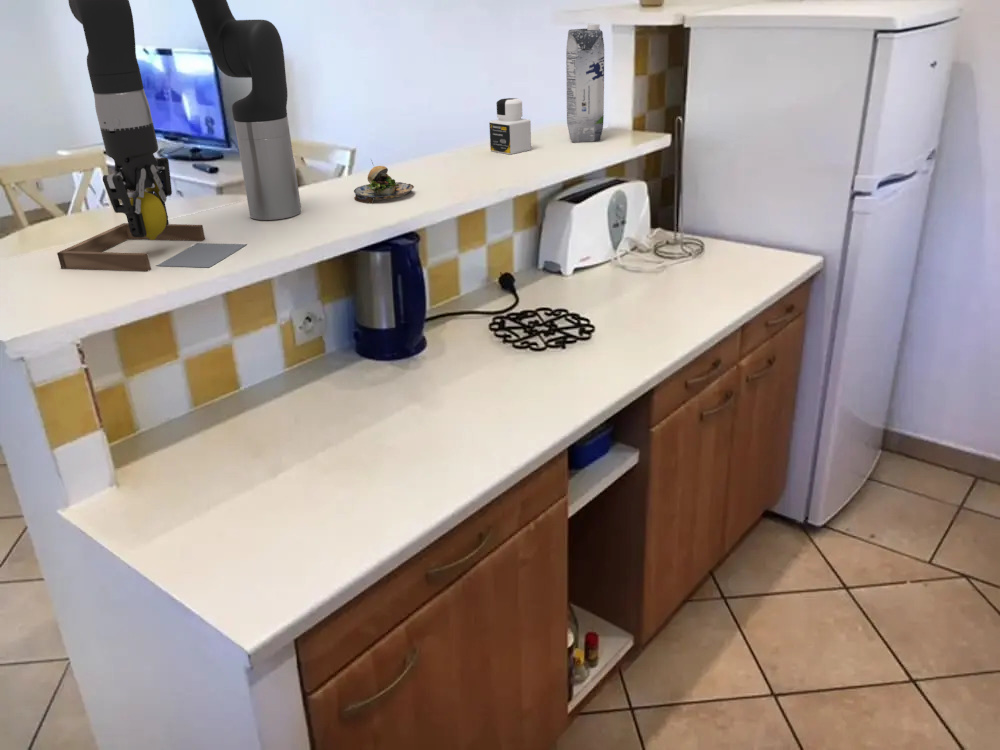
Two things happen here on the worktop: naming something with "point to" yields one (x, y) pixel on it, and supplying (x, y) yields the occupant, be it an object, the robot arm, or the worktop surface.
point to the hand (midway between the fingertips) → (150, 230)
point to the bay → (94, 257)
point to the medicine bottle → (510, 128)
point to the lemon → (152, 215)
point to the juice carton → (585, 83)
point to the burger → (380, 187)
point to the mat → (202, 255)
